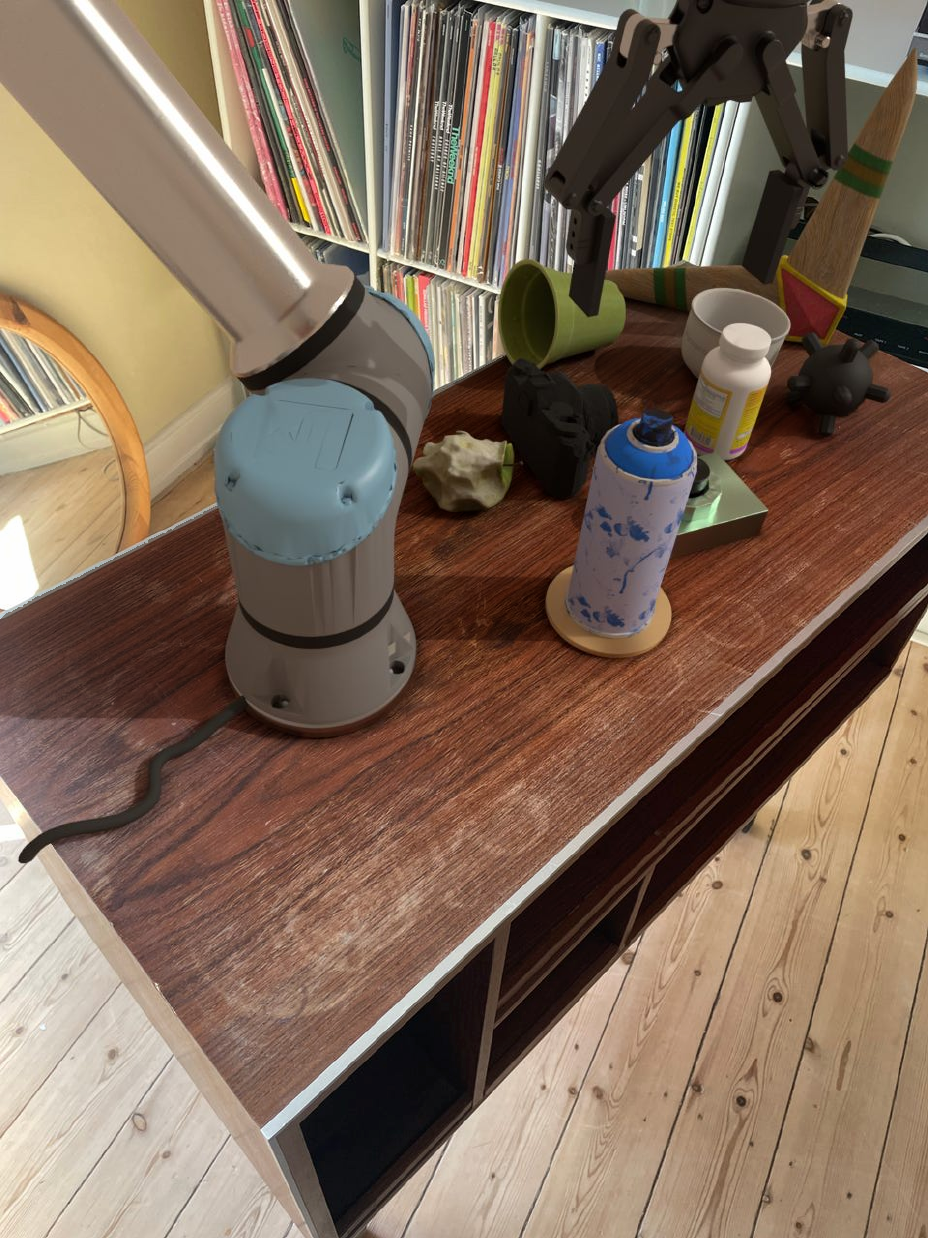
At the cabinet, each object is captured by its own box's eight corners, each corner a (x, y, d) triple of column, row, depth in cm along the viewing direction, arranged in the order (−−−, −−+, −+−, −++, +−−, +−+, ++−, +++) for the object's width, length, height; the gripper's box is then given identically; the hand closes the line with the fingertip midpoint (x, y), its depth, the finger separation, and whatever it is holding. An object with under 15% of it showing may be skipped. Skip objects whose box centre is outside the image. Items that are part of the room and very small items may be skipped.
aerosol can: (661, 585, 84) (719, 399, 69) (645, 649, 79) (704, 463, 64) (576, 562, 85) (615, 375, 70) (555, 624, 80) (592, 436, 65)
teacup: (683, 339, 112) (699, 276, 106) (774, 359, 110) (796, 297, 104) (662, 404, 103) (679, 340, 97) (761, 427, 101) (784, 363, 95)
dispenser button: (676, 503, 85) (681, 486, 83) (653, 476, 87) (658, 458, 86) (713, 493, 86) (718, 476, 85) (690, 467, 89) (695, 449, 87)
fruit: (528, 504, 93) (542, 452, 86) (452, 546, 89) (460, 495, 82) (473, 442, 96) (482, 387, 89) (398, 480, 92) (401, 426, 85)
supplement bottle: (741, 427, 101) (778, 320, 91) (748, 466, 96) (787, 358, 87) (679, 420, 101) (710, 313, 91) (683, 459, 97) (715, 351, 87)
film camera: (637, 486, 93) (656, 412, 87) (549, 506, 91) (562, 431, 84) (570, 399, 102) (583, 325, 96) (489, 415, 100) (496, 341, 93)
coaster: (581, 673, 77) (582, 668, 77) (524, 581, 84) (525, 577, 83) (693, 638, 81) (695, 633, 80) (631, 552, 87) (632, 548, 87)
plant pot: (590, 382, 112) (511, 388, 107) (569, 286, 113) (488, 288, 107) (651, 343, 102) (566, 348, 97) (627, 238, 102) (541, 238, 97)
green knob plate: (660, 562, 86) (672, 522, 83) (613, 500, 92) (623, 460, 88) (758, 534, 90) (774, 495, 86) (708, 476, 95) (721, 437, 91)
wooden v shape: (906, 68, 87) (915, 43, 91) (578, 276, 117) (595, 251, 121) (1004, 263, 96) (1009, 234, 99) (675, 411, 125) (688, 384, 129)
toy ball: (806, 426, 109) (822, 468, 99) (757, 354, 105) (769, 390, 95) (894, 372, 104) (920, 411, 94) (846, 294, 100) (868, 326, 90)
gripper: (581, -73, 41) (529, 351, 57) (1010, -92, 48) (856, 288, 64) (510, -115, 45) (480, 290, 61) (912, -127, 52) (791, 237, 68)
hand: (672, 289), depth 63 cm, fingers open, 13 cm apart
